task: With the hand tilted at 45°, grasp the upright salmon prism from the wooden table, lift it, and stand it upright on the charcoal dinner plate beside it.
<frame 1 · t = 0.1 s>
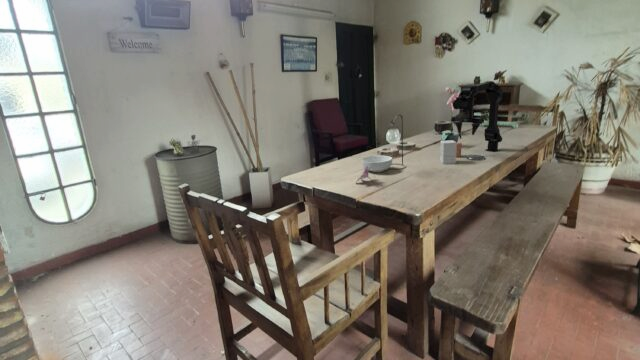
hand: (466, 134, 203), 15 cm above the table, tool pointing down, fingers open, 9 cm apart
upright salmon prism: (455, 156, 212), on the table
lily: (365, 183, 172), on the table
cereal bowl: (377, 170, 192), on the table
charcoal dinner plate: (475, 158, 204), on the table
supplement box: (447, 162, 199), on the table
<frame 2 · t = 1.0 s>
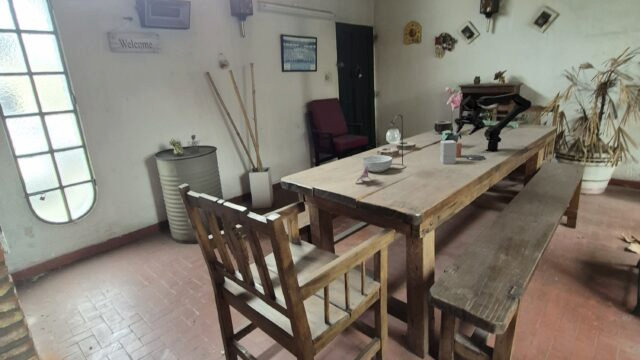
hand: (462, 134, 210), 13 cm above the table, tool tilted 45°, fingers open, 9 cm apart
nothing on the table moved.
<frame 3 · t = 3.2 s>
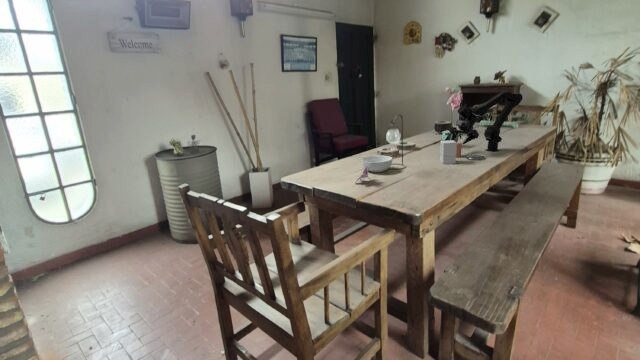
hand: (456, 143, 209), 8 cm above the table, tool tilted 45°, fingers open, 9 cm apart
nothing on the table moved.
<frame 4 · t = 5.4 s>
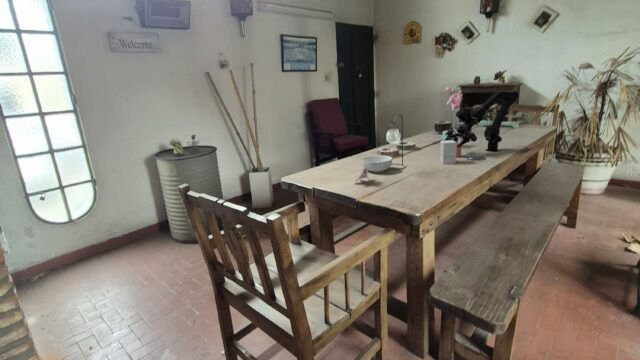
hand: (454, 146, 209), 7 cm above the table, tool tilted 45°, fingers closed on upright salmon prism, 4 cm apart
upright salmon prism: (455, 156, 212), on the table, touching gripper
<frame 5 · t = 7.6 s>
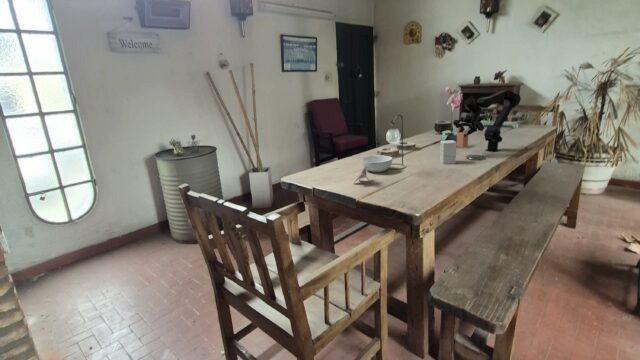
hand: (461, 136, 205), 13 cm above the table, tool tilted 45°, fingers closed on upright salmon prism, 4 cm apart
upright salmon prism: (462, 146, 208), point 7 cm above the table, touching gripper
when the fingers open (9 cm above the table, at t = 10.1 s): upright salmon prism drops 1 cm, resting on charcoal dinner plate.
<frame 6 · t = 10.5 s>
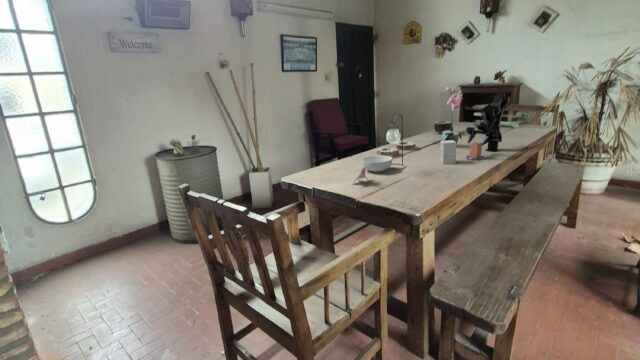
hand: (474, 144, 201), 9 cm above the table, tool tilted 45°, fingers open, 9 cm apart
upright salmon prism: (475, 156, 204), point 1 cm above the table, touching charcoal dinner plate
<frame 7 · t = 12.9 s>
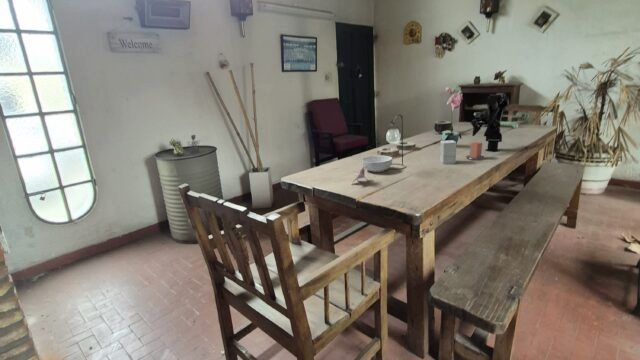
hand: (478, 135, 204), 13 cm above the table, tool tilted 35°, fingers open, 9 cm apart
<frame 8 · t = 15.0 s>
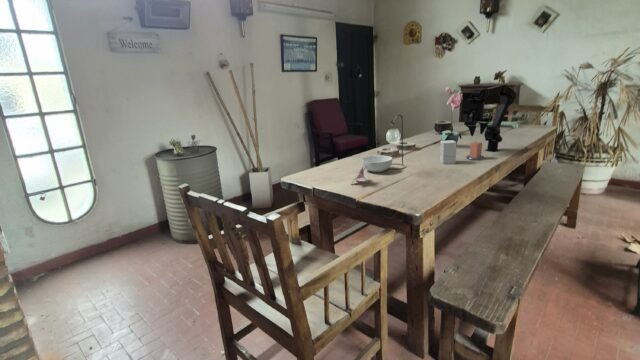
hand: (476, 135, 211), 12 cm above the table, tool pointing down, fingers open, 9 cm apart
at the end: upright salmon prism 0.0 cm off-centre on the charcoal dinner plate, point 1.0 cm above the charcoal dinner plate's base; upright salmon prism tilted 0°; the gripper is holding nothing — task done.
